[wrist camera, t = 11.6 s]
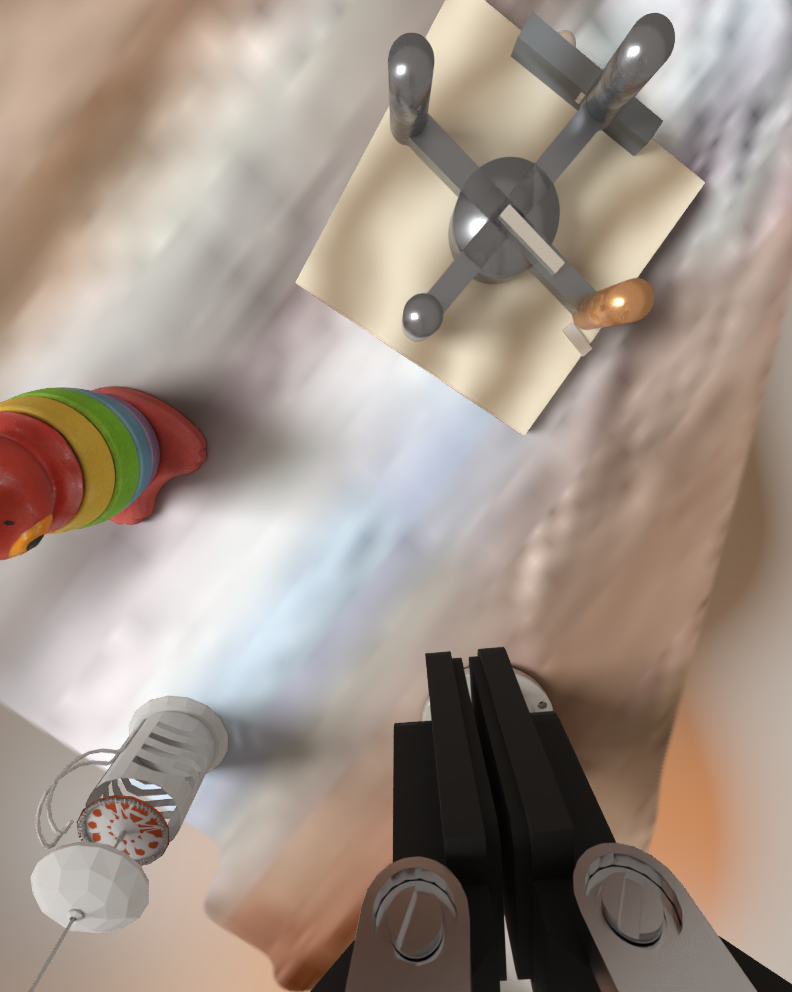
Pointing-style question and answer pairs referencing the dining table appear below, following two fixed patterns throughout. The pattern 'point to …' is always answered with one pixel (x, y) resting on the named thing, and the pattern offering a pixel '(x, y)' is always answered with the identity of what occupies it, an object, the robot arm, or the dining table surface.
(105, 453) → the stacking bear
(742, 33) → the dining table surface
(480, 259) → the capstan
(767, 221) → the dining table surface
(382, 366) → the dining table surface
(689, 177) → the stand
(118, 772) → the french press
